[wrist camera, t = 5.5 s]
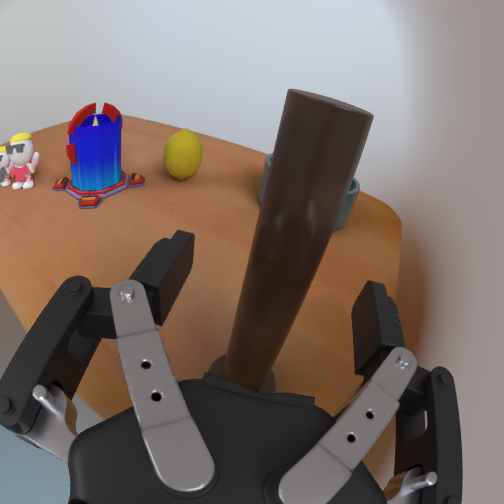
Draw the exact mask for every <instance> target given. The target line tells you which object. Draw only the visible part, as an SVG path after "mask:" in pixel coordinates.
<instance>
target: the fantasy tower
mask: <svg viewBox="0 0 504 504" xmlns="http://www.w3.org/2000/svg"><path fill="white" fill-rule="evenodd" d="M95 113H96V103H93V104H90V105H87V106H85V107H84V108H82V109H81V110H80V111H78V112H77V113H76V115H75V116H74V117H73V119H72V121H71V122H70V124H69V129H68V133H67V134H69V145H66V149H67V156H68V157H69V159H70V161H71V172H72V180H71V182H70V183H69V185H68V187H67V189H66V190H65V192H67V193H69V194H70V195H72V196H73V197H75V198H76V199H78V200H79V199H80V200H79V202H78V205H79V208H80V209H84V208H96V207H97V206H98V205H99V204H100V203H101V202H102V200H103V199H102V198H106V197H108V196H110V195H113V194H115V193H117V192H119V191H121V190H123V189H126V188H127V185H128V180H129V176H128V175H127V174H126V173H124V172H122V171H121V129H122V121H123V119H122V116H121V114H120V112H119V111H118V110H117V109H116V108H115V107H114V106H113V105H110V104H108V103H104V107H103V110H102V113H103V114H99V115H93V114H95ZM68 182H69V179H68V178H67V177H64V178H61V179H58V180H57V182H56V183H55V185H54V187H53V189H52V190H57V191H63V190H64V189H65V187H66V185H67V184H68ZM144 182H145V178H144V177H143V176H142V175H139V174H132V176H131V181H130V186H129V187H135V186H141V185H144Z"/></svg>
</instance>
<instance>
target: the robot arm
mask: <svg viewBox="0 0 504 504" xmlns="http://www.w3.org/2000/svg"><path fill="white" fill-rule="evenodd" d="M194 240H195V235H194V234H193V233H189V232H185V231H182V230H177V231H176V233H175V234H174V235H173V237H172V238H171V239H168V238H163V239H161V240H160V241H158V242H156V243H155V244H154V246H153V247H152V248H151V249H150V252H148V253H147V255H146V256H145V258H144V259H143V260H142V261H141V263H140V264H139V265H138V267H137V268H136V270H135V271H134V272H133V274H132V275H131V276H130V278H129V279H127V280H122V281H119V282H117V283H116V284H114V285H113V287H112V288H100V287H92V285H91V282H90V280H89V279H87V278H86V277H83V276H73V277H70V278H68V279H67V280H65V281H64V282H63V283H62V285H61V286H60V287H59V289H58V290H57V291H56V293H55V294H54V296H53V297H52V298H51V300H50V301H49V302H48V304H47V305H46V307H45V308H44V310H43V311H42V312H41V314H40V315H39V317H38V318H37V320H36V321H35V323H34V324H33V326H32V327H31V329H30V330H29V332H28V334H27V335H26V337H25V338H24V340H23V342H22V343H21V345H20V346H19V348H18V350H17V351H16V353H15V355H14V357H13V358H12V360H11V362H10V363H9V365H8V367H7V369H6V371H5V373H4V374H3V376H2V378H1V380H0V424H1V425H2V426H4V427H5V428H6V429H8V430H9V431H10V432H11V433H12V434H14V435H16V436H17V437H19V438H20V439H22V440H24V441H25V442H27V443H30V444H32V445H34V446H36V447H37V448H40V449H44V450H45V451H47V452H49V453H50V454H52V455H53V456H55V457H57V458H59V459H60V460H62V461H65V462H66V463H68V468H69V474H70V486H71V488H70V489H71V490H70V498H69V502H68V504H461V501H462V444H461V431H460V421H459V411H458V404H457V397H456V390H455V384H454V380H453V376H452V375H451V373H450V372H449V371H448V370H447V369H446V368H444V367H441V366H438V367H435V368H434V369H433V370H432V371H431V372H430V371H428V370H426V369H424V368H422V367H420V366H418V365H417V361H416V359H415V357H414V355H413V354H412V353H411V352H410V351H409V350H407V349H406V348H405V343H404V338H403V333H402V329H401V324H400V320H399V317H398V311H397V307H396V305H395V303H394V301H393V300H392V298H391V297H388V296H387V293H386V288H385V285H384V284H382V283H378V282H374V281H370V280H369V281H367V283H366V284H365V286H364V288H363V289H362V291H361V293H360V294H359V296H358V298H357V300H356V301H355V303H354V305H353V308H352V314H351V317H352V330H353V345H354V364H355V374H356V375H363V376H364V380H363V381H362V382H361V383H360V385H359V386H358V387H357V388H356V389H355V390H354V392H353V393H352V394H351V395H350V396H349V397H348V399H347V400H346V401H345V402H344V403H343V404H342V405H341V406H340V407H339V409H338V410H337V411H336V412H335V413H333V414H332V415H331V416H330V415H329V414H328V413H327V412H326V411H324V410H323V409H321V408H319V407H318V406H316V405H314V402H315V397H310V396H305V395H299V394H293V393H258V392H256V391H254V390H252V389H250V388H248V387H246V386H244V385H242V384H240V383H238V382H236V381H234V380H231V379H227V378H224V377H220V376H216V375H213V374H209V373H206V372H205V374H204V377H203V379H189V380H183V381H180V382H177V380H176V378H175V375H174V372H173V370H172V367H171V364H170V362H169V359H168V356H167V353H166V350H165V347H164V344H163V341H162V338H161V335H160V332H159V330H158V328H157V329H156V326H155V324H157V325H160V326H162V325H163V323H164V321H165V319H166V317H167V315H168V313H169V312H170V310H171V308H172V306H173V304H174V302H175V300H176V298H177V296H178V294H179V292H180V290H181V288H182V286H183V285H184V283H185V281H186V279H187V277H188V275H189V273H190V271H191V268H192V264H193V253H194ZM102 338H108V339H116V340H117V345H118V350H119V354H120V358H121V363H122V367H123V371H124V375H125V379H126V383H127V386H128V390H129V394H130V397H131V401H132V404H133V406H132V407H130V408H128V409H126V410H124V411H122V412H120V413H118V414H116V415H114V416H112V417H110V418H109V419H107V420H105V421H103V422H101V423H98V424H96V425H95V426H92V427H90V428H88V429H86V430H84V431H83V432H81V433H80V434H79V435H78V434H77V432H76V428H75V425H76V419H77V411H76V407H75V405H74V404H73V403H72V398H73V396H74V394H75V392H76V390H77V387H78V385H79V383H80V381H81V379H82V377H83V375H84V373H85V371H86V369H87V367H88V364H89V362H90V360H91V358H92V356H93V354H94V352H95V351H96V349H97V347H98V345H99V343H100V341H101V339H102ZM426 410H427V422H428V425H427V429H426V431H425V414H424V412H425V411H426ZM395 413H396V445H395V466H394V477H392V478H391V479H390V481H389V482H388V484H387V487H386V488H385V489H384V490H383V491H382V490H381V488H380V487H379V485H378V484H377V483H376V481H375V480H374V478H373V477H372V475H371V474H370V472H369V471H368V469H367V468H366V466H365V465H364V463H363V462H362V459H363V457H364V456H365V455H366V454H367V452H368V451H369V450H370V448H371V447H372V446H373V444H374V443H375V442H376V440H377V439H378V438H379V436H380V435H381V433H382V432H383V431H384V429H385V428H386V426H387V425H388V423H389V422H390V420H391V419H392V417H393V416H394V414H395Z"/></svg>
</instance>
